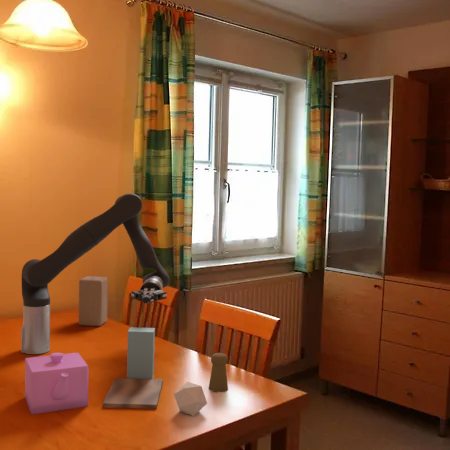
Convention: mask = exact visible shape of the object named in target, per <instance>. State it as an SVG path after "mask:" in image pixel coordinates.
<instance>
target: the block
mask: <svg viewBox="0 0 450 450" xmlns="http://www.w3.org/2000/svg"><path fill="white" fill-rule="evenodd" d="M108 285H109V284H108V277H106V276H95V275H93V276H92V275H87V276H85V277H82V278H81V279H79V281H78V325H80V326H84V327H85V326H90V327H101V326H102V325H104V324H105V323H106V322H107V320H108V293H109V292H108V291H109V290H108V288H109V286H108Z"/></svg>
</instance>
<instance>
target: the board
mask: <svg viewBox="0 0 450 450" xmlns="http://www.w3.org/2000/svg"><path fill="white" fill-rule="evenodd" d="M163 384H164V379H163V378H153V379H136V378H127V377H115V378H114V379H113V382H112V384H111V386H110V388H109V390H108V392H107V394H106V396H105V398H104V400H103V401H102V402H103V403H102V408H104V409H105V408H109V409H110V408H111V409H118V408H119V409H146V410H151V409H153V410H156V409H158V408H157V407H158V404H159V400H160V396H161V393H162V387H163Z"/></svg>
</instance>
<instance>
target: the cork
mask: <svg viewBox="0 0 450 450" xmlns="http://www.w3.org/2000/svg"><path fill="white" fill-rule="evenodd" d="M228 358H229V357H228V356H227V354H226V353H223V352H216V353H213V354H212V355H211V357H210V362H211V364H212V366H211V373H210V378H209V385H208V390H209V391H211V392H214V393H225V392H227V391H228V390H229V386H228V385H229V384H228V376H227V373H228V372H227V366H226V365H227V364H228V360H229V359H228Z"/></svg>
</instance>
